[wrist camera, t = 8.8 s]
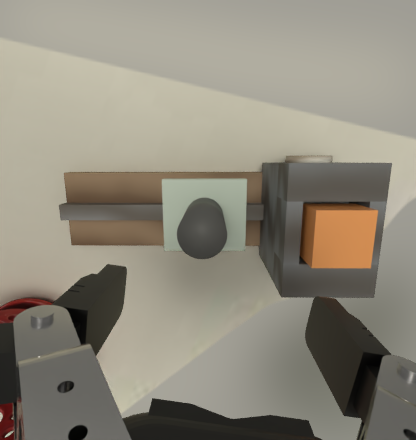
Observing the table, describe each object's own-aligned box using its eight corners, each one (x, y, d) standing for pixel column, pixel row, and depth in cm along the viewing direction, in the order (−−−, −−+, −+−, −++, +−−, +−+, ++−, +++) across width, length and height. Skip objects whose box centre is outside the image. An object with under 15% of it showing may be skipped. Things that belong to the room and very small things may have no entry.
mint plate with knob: (166, 177, 29) (143, 185, 19) (243, 177, 29) (259, 185, 19) (168, 242, 30) (148, 280, 20) (241, 242, 30) (256, 280, 20)
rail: (69, 157, 30) (-15, 155, 19) (324, 156, 30) (393, 154, 19) (78, 249, 32) (8, 296, 21) (317, 250, 32) (373, 297, 21)
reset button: (301, 203, 21) (316, 210, 18) (354, 203, 21) (378, 210, 18) (298, 253, 22) (311, 268, 19) (349, 253, 22) (370, 268, 19)
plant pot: (112, 349, 35) (62, 442, 24) (31, 391, 37) (-54, 499, 25) (51, 265, 33) (-38, 323, 21) (-33, 314, 34) (-159, 393, 23)
